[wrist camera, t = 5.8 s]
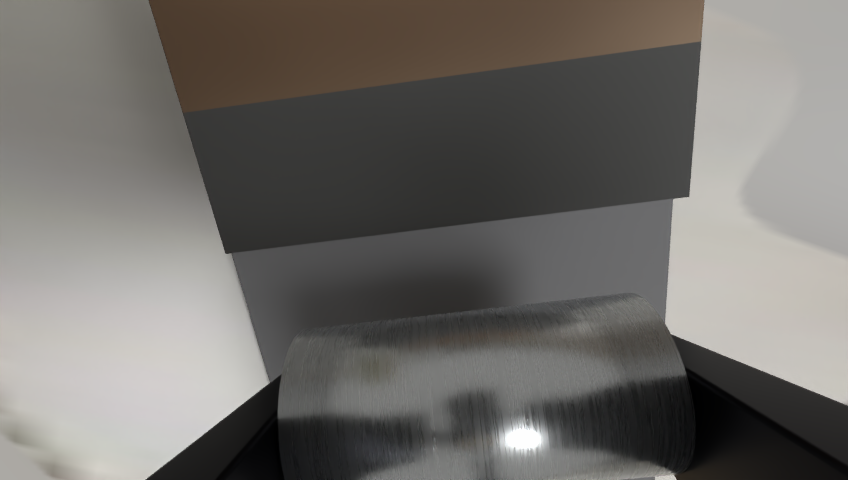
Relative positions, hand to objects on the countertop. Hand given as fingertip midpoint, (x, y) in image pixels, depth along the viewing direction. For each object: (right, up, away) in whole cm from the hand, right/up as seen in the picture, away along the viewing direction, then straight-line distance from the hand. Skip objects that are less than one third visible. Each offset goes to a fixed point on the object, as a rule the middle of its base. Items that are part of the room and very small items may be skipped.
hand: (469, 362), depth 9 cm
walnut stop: (-1, +8, +6) cm, 10 cm away
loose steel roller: (0, 0, +1) cm, 1 cm away
